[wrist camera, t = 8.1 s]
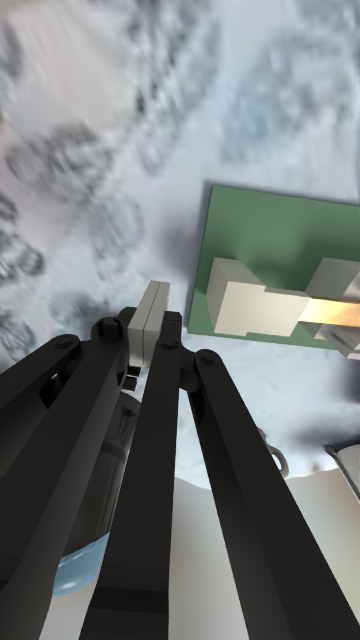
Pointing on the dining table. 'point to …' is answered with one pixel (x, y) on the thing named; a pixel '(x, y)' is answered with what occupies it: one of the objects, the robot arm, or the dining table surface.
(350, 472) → the coffee press
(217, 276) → the cream white stepped block
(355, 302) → the golden metal bar
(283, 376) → the dining table surface
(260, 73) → the dining table surface
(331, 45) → the dining table surface
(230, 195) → the green white block assembly
